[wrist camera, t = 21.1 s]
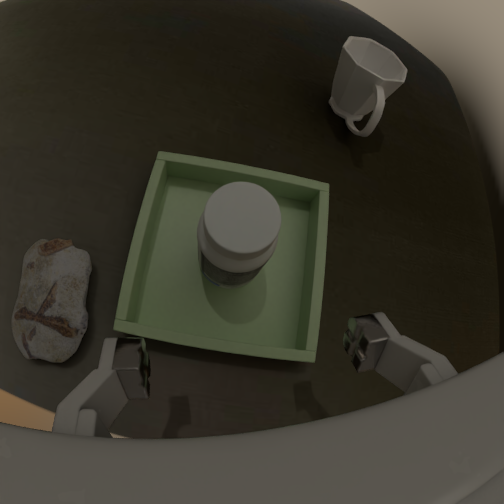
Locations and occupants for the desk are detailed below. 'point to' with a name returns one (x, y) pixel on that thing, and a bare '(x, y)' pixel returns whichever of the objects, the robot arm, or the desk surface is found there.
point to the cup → (364, 82)
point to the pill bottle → (237, 234)
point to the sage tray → (206, 293)
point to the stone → (52, 300)
